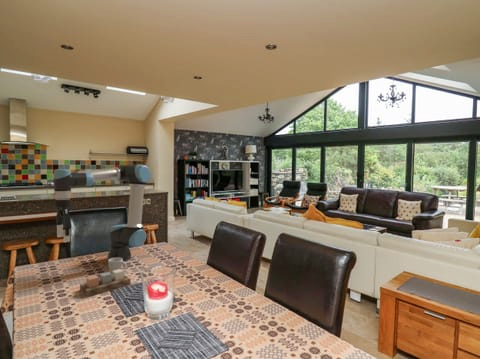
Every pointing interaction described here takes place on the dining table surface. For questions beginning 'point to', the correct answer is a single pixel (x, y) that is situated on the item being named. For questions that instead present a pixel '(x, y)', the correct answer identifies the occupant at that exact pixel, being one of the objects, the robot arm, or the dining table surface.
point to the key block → (104, 286)
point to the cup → (116, 264)
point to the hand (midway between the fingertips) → (63, 239)
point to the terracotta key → (92, 281)
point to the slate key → (105, 278)
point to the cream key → (118, 274)
